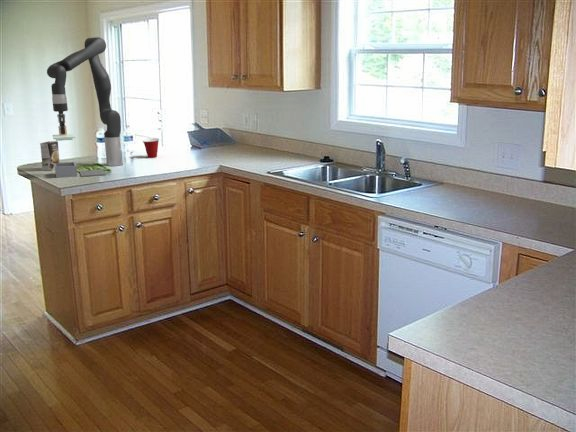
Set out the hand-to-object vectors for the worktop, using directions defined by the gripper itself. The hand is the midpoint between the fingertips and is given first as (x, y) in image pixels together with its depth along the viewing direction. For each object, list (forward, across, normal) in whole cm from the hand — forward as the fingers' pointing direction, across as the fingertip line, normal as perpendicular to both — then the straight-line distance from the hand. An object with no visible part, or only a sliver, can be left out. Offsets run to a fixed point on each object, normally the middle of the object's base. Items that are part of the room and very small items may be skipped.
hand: (63, 133), depth 345 cm
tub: (+23, -4, +1) cm, 23 cm away
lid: (+3, -4, 0) cm, 4 cm away
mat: (+23, -6, -13) cm, 27 cm away
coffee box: (+23, +18, +8) cm, 31 cm away
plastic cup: (+23, +36, -54) cm, 69 cm away
